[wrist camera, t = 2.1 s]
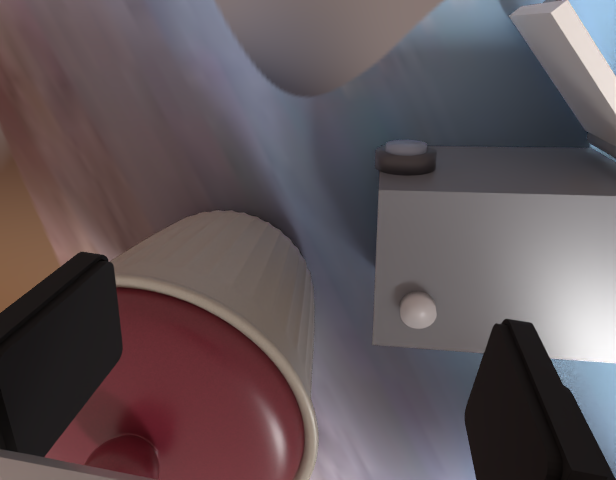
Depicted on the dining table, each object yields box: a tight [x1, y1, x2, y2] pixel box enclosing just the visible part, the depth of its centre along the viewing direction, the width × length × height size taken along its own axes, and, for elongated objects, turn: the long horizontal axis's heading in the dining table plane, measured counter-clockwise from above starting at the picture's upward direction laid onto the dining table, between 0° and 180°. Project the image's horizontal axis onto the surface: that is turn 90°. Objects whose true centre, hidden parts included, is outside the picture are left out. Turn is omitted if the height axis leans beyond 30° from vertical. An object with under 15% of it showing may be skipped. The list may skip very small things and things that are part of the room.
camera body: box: [372, 139, 616, 363], centre depth 29 cm, size 14×11×11 cm
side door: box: [509, 0, 616, 158], centre depth 25 cm, size 10×2×8 cm, turn 41°
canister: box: [45, 210, 319, 480], centre depth 30 cm, size 18×18×21 cm
